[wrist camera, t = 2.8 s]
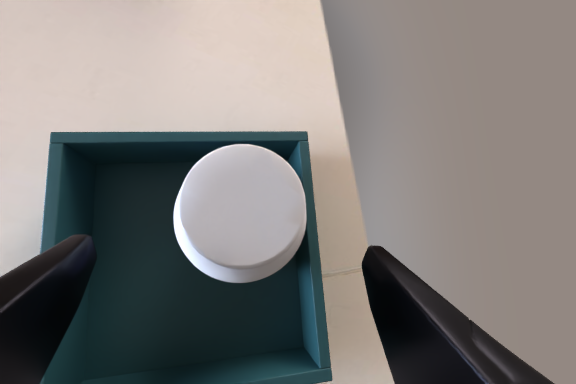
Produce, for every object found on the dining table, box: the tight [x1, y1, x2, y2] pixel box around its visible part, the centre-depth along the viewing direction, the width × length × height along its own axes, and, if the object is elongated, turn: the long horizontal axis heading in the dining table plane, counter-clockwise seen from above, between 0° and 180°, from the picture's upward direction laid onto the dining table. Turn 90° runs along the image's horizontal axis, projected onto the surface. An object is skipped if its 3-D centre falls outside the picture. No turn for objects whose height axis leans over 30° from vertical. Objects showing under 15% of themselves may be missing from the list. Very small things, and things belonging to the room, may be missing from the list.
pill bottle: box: [174, 144, 306, 283], centre depth 13 cm, size 5×5×10 cm
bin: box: [40, 131, 332, 384], centre depth 16 cm, size 13×13×4 cm
